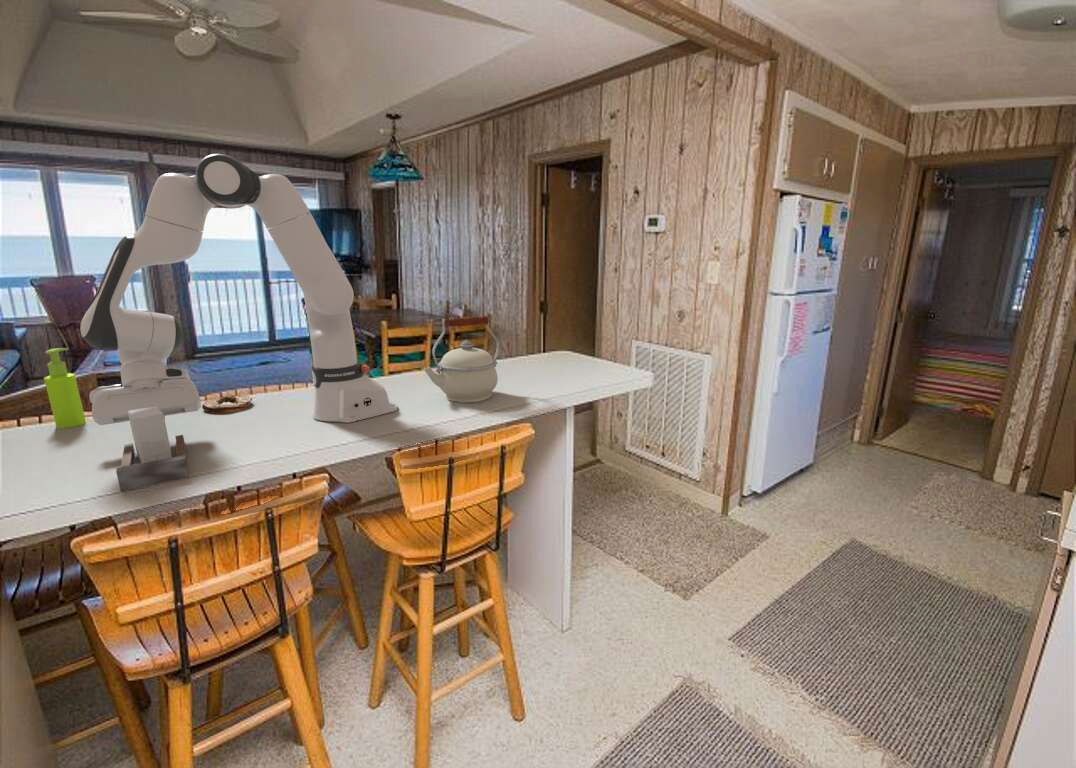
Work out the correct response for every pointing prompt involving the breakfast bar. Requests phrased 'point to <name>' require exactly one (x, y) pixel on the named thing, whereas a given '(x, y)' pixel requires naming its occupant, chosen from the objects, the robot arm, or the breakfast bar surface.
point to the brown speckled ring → (227, 404)
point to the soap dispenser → (63, 393)
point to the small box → (150, 434)
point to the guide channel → (151, 468)
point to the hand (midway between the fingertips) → (152, 432)
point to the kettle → (465, 367)
